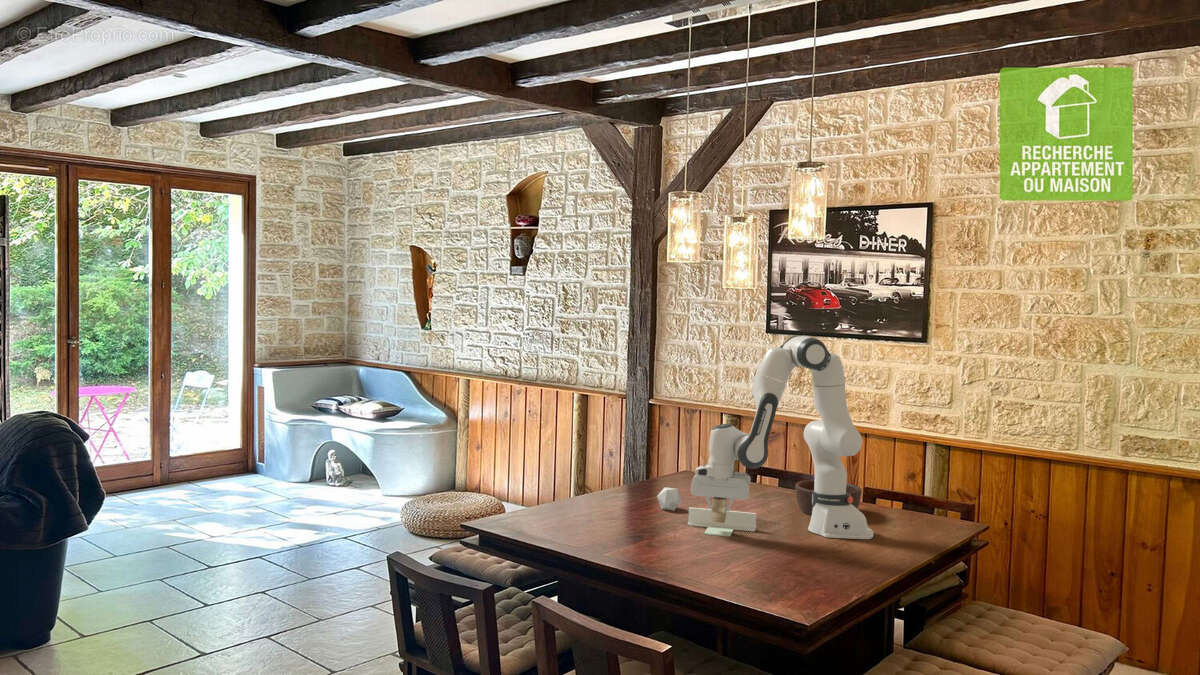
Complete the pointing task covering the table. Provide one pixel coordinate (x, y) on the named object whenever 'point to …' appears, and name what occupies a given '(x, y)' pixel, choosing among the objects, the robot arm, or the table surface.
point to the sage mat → (718, 531)
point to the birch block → (719, 509)
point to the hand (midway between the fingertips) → (719, 509)
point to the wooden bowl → (806, 490)
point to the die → (669, 498)
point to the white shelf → (733, 521)
